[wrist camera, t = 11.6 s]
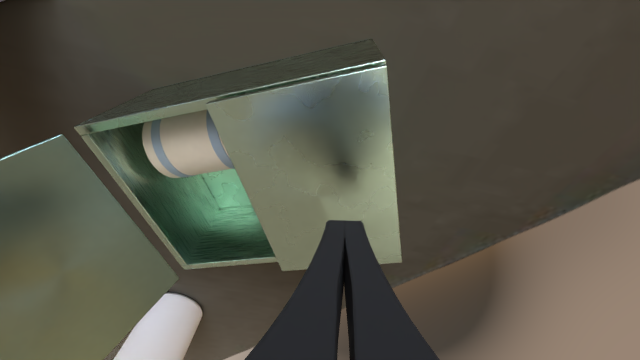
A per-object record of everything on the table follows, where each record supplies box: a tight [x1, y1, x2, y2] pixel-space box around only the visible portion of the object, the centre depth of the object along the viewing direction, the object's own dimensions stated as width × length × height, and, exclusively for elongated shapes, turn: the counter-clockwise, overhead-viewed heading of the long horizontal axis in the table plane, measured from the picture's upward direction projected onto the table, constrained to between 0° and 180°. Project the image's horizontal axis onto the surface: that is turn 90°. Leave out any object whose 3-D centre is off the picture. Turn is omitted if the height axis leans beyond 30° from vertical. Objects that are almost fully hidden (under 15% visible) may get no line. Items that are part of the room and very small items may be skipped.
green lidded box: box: [74, 39, 402, 271], centre depth 17 cm, size 15×11×7 cm
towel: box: [142, 110, 235, 178], centre depth 17 cm, size 4×6×4 cm
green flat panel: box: [0, 134, 179, 360], centre depth 13 cm, size 7×11×1 cm
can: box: [114, 292, 202, 360], centre depth 29 cm, size 6×6×12 cm
